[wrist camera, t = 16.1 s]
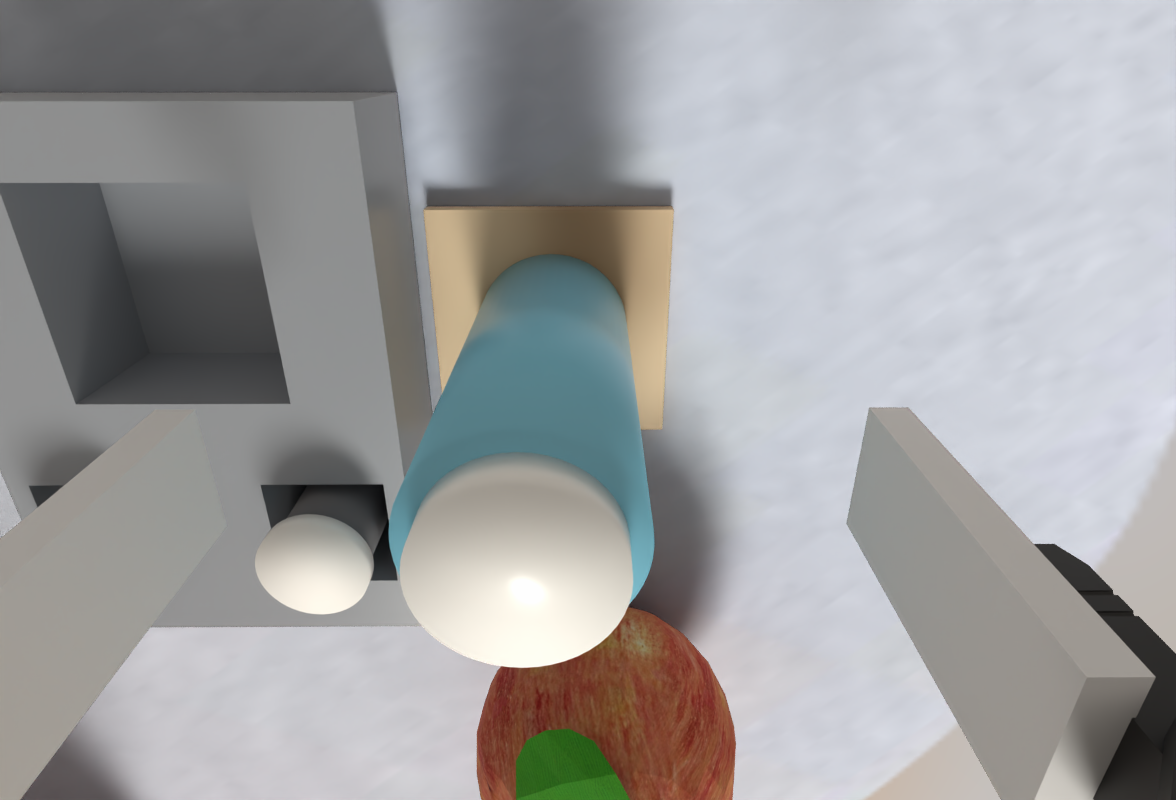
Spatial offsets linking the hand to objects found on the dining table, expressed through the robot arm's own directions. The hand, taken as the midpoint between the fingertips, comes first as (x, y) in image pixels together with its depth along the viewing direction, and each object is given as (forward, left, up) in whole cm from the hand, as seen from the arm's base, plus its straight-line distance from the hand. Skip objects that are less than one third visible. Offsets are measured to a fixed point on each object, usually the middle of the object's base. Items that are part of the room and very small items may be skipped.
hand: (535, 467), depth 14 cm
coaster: (0, 0, -8) cm, 8 cm away
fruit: (+2, -13, -9) cm, 16 cm away
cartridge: (0, 0, -8) cm, 8 cm away
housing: (-10, -1, -8) cm, 13 cm away
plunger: (-6, -5, -7) cm, 11 cm away
